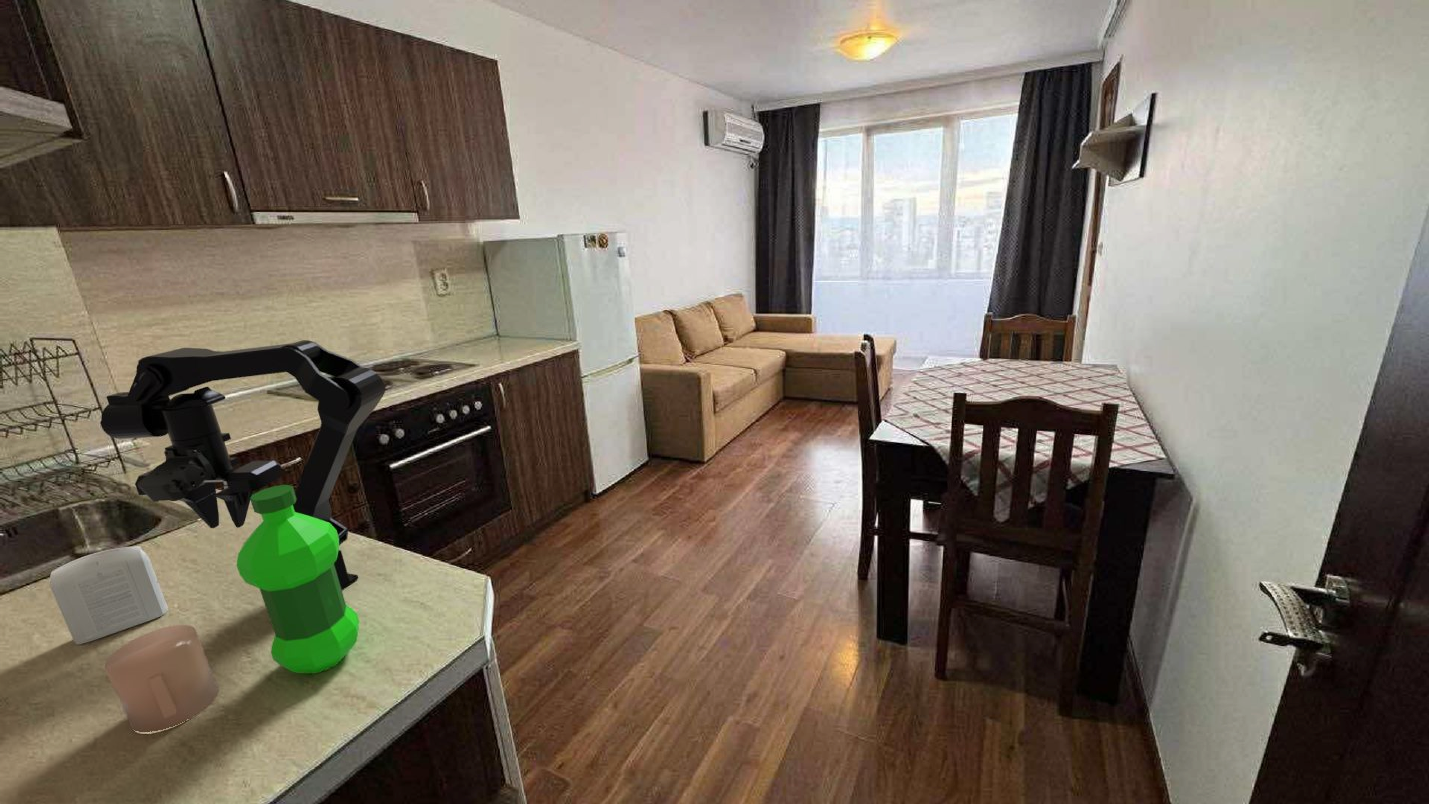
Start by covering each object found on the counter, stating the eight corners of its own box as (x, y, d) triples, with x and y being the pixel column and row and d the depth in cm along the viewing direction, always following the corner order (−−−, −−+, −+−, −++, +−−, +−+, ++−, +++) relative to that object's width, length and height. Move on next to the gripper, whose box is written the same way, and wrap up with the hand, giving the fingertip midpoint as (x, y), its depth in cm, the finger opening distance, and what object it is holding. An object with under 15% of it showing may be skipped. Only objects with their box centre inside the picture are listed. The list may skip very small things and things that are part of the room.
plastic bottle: (308, 698, 71) (248, 519, 64) (262, 673, 76) (201, 503, 68) (383, 646, 80) (338, 482, 72) (338, 626, 84) (291, 470, 77)
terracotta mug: (133, 707, 71) (106, 648, 69) (216, 673, 77) (194, 616, 74) (130, 754, 65) (100, 690, 62) (221, 712, 70) (197, 651, 67)
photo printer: (169, 603, 92) (141, 535, 88) (169, 615, 89) (141, 545, 85) (76, 636, 85) (43, 564, 82) (74, 650, 82) (39, 576, 79)
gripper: (77, 457, 79) (119, 556, 83) (207, 452, 78) (242, 553, 82) (156, 429, 89) (189, 518, 94) (271, 424, 88) (298, 515, 93)
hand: (227, 526), depth 90 cm, fingers open, 4 cm apart
